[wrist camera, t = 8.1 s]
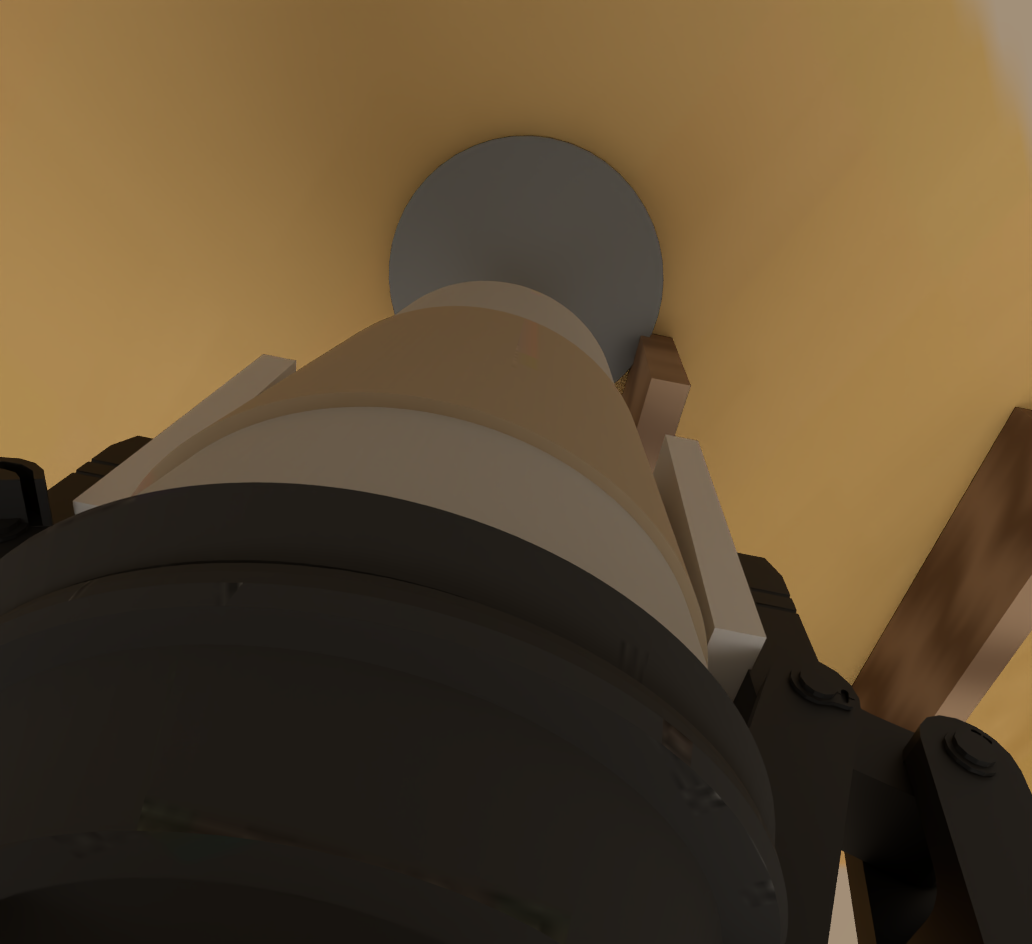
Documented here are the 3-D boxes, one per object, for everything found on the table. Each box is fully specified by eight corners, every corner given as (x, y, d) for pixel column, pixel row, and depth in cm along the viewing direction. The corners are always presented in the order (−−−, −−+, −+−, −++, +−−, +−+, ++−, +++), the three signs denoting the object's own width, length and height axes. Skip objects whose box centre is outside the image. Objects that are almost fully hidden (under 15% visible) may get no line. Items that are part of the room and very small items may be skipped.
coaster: (405, 108, 27) (402, 108, 27) (697, 167, 27) (700, 169, 27) (382, 383, 33) (378, 387, 32) (623, 431, 33) (623, 436, 33)
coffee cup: (257, 332, 18) (-628, 939, 5) (564, 160, 15) (467, 453, 2) (431, 582, 21) (192, 1335, 8) (706, 476, 19) (993, 1324, 6)
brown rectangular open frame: (639, 331, 31) (651, 378, 25) (1047, 413, 31) (1143, 476, 26) (546, 671, 41) (541, 754, 36) (852, 731, 41) (892, 822, 36)
